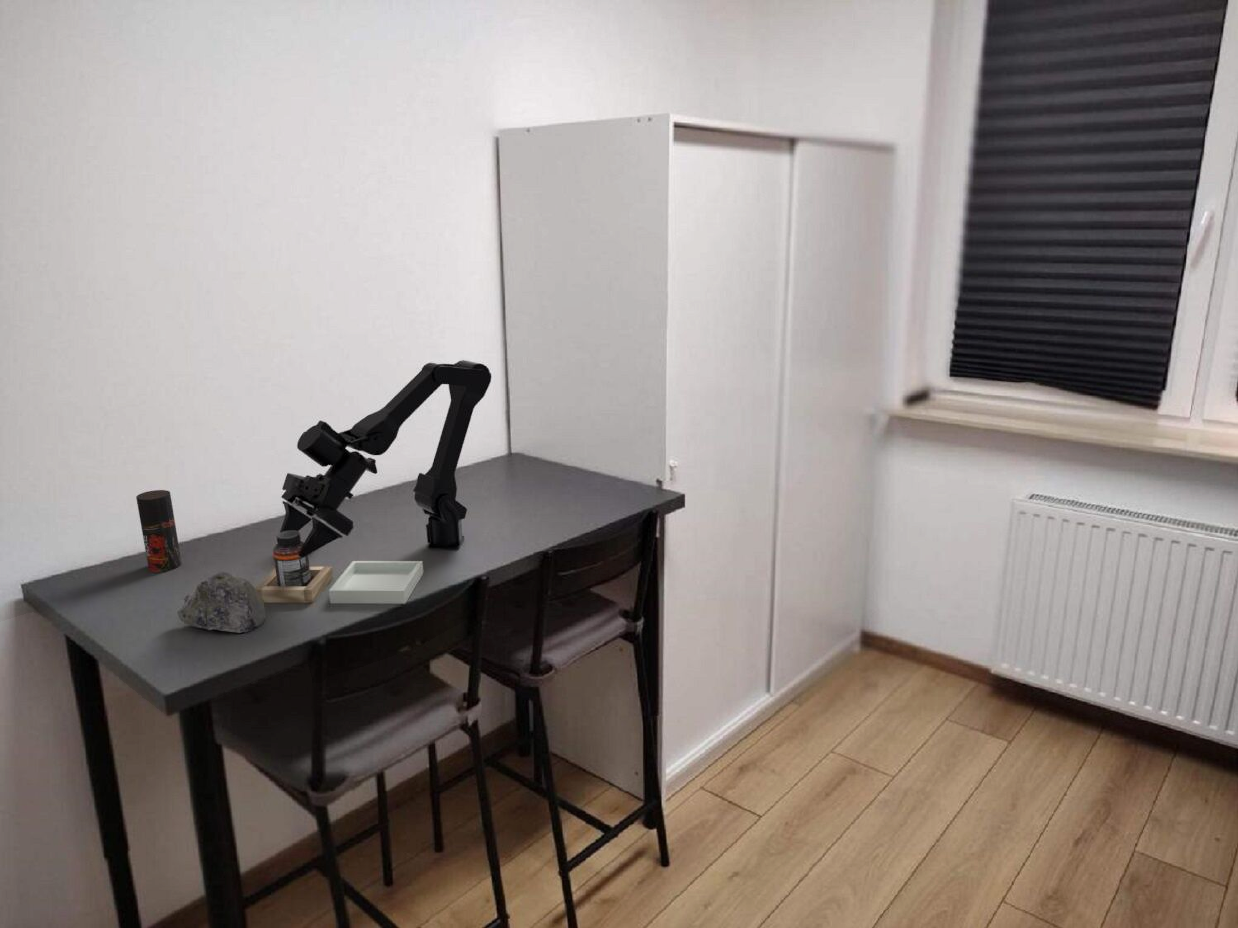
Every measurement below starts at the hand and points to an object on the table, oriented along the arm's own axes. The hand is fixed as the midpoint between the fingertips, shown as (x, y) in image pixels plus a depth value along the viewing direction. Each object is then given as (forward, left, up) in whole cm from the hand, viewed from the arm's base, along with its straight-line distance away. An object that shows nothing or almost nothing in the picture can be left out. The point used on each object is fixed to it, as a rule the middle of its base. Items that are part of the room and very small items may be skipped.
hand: (289, 549), depth 164 cm
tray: (-15, -1, -8) cm, 18 cm away
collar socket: (0, 0, -8) cm, 8 cm away
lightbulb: (+4, -23, -8) cm, 25 cm away
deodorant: (+31, -11, -8) cm, 34 cm away
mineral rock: (+7, +14, -8) cm, 18 cm away
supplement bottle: (0, 0, -8) cm, 8 cm away
